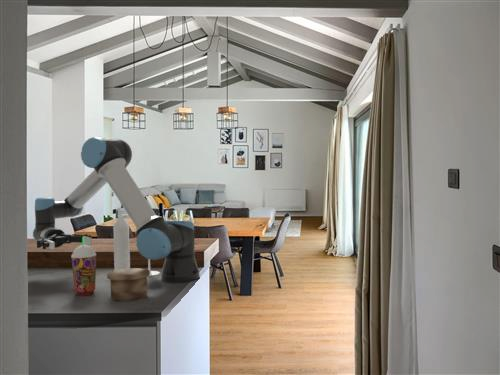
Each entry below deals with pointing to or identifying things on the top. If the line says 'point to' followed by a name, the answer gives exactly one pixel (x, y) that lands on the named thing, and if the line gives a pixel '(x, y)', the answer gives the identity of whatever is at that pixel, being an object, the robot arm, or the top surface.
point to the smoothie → (84, 269)
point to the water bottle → (121, 243)
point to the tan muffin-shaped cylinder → (128, 284)
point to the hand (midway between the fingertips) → (72, 243)
